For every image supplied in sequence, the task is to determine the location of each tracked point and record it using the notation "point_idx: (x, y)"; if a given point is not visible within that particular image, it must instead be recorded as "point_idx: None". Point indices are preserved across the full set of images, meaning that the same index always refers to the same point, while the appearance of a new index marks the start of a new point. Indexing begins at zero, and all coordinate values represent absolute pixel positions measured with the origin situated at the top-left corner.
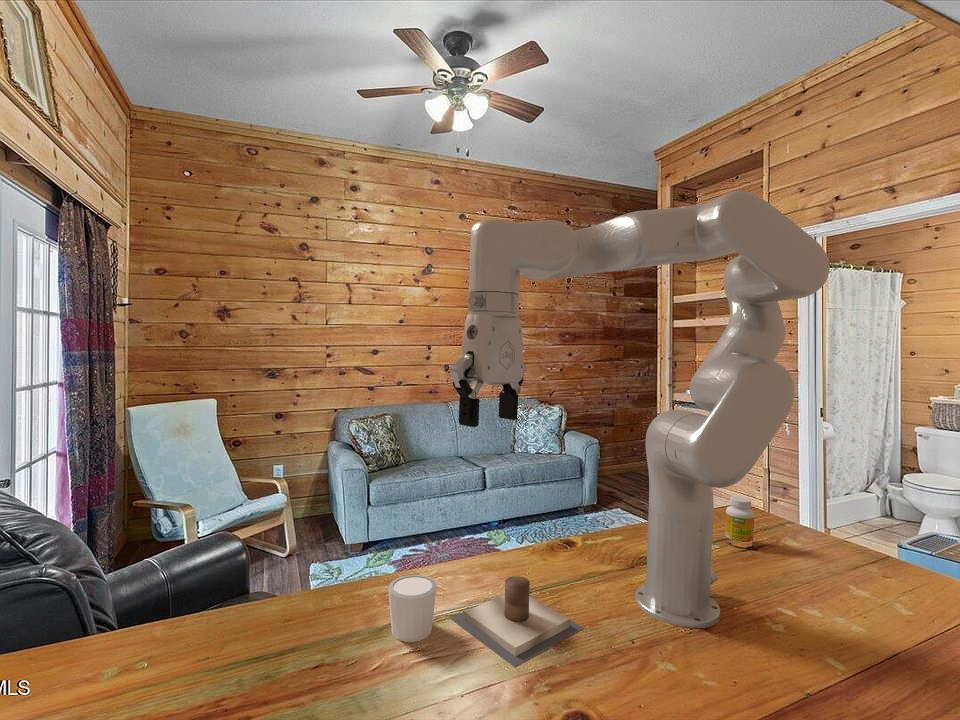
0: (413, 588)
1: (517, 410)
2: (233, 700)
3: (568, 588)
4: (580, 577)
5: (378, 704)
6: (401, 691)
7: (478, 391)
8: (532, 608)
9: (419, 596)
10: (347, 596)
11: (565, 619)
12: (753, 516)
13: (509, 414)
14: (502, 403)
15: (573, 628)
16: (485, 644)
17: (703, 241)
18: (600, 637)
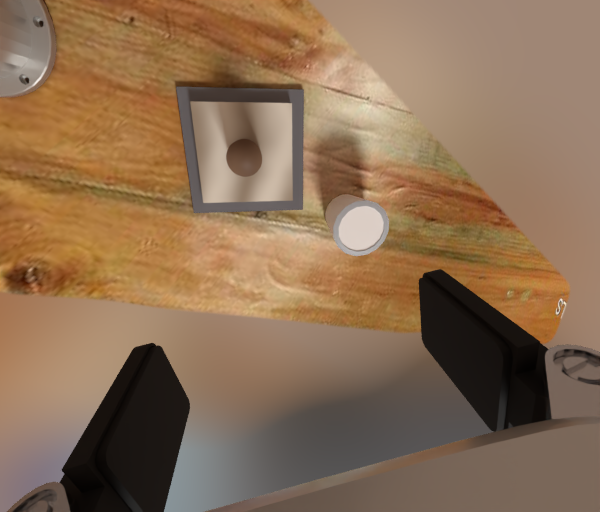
0: (363, 223)
1: (117, 376)
2: (492, 218)
3: (120, 178)
4: (79, 190)
5: (426, 141)
6: (403, 142)
7: (557, 392)
8: (217, 154)
9: (370, 203)
10: (356, 305)
11: (196, 104)
12: None
13: (163, 377)
14: (166, 454)
15: (190, 96)
16: (302, 144)
17: None
18: (166, 62)
